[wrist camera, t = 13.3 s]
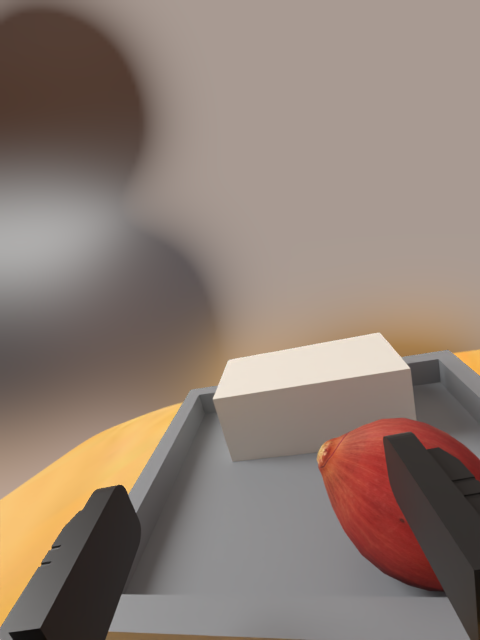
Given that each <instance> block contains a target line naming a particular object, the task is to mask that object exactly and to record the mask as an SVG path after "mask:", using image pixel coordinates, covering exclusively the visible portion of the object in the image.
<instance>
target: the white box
mask: <svg viewBox="0 0 480 640" xmlns="http://www.w3.org/2000/svg"><path fill="white" fill-rule="evenodd" d="M213 402H214V405H215V409H216V412H217V415H218V418H219V421H220V424H221V428H222V431H223V434H224V437H225V440H226V443H227V446H228V450H229V453H230V456H231V459H232V462H234V461H243V460H252V459H261V458H270V457H279V456H288V455H297V454H306V453H315V452H318V451H319V449H320V448H321V446H322V445H323V444H324V443H325V442H326V441H327V440H330V439H333V438H337V437H340V436H342V435H344V434H346V433H348V432H350V431H352V430H354V429H356V428H358V427H361V426H363V425H366V424H368V423H371V422H374V421H377V420H380V419H389V418H407V419H411V420H415V421H417V420H416V412H415V403H414V394H413V386H412V377H411V369H410V367H409V366H408V365H407V364H406V363H405V361H404V360H403V359H402V358H401V357H400V356H399V355H398V353H397V352H396V351H395V350H394V349H393V348H392V346H391V345H390V344H389V343H388V342H387V341H386V339H385V338H384V337H383V336H382V335H381V334H380V333H375V334H368V335H363V336H357V337H352V338H346V339H341V340H336V341H330V342H325V343H319V344H314V345H309V346H303V347H297V348H293V349H286V350H281V351H275V352H270V353H264V354H259V355H253V356H248V357H242V358H237V359H231V360H228V362H227V365H226V367H225V370H224V372H223V375H222V377H221V380H220V382H219V385H218V387H217V390H216V392H215V395H214V397H213Z"/></svg>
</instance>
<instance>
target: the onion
mask: <svg viewBox="0 0 480 640" xmlns="http://www.w3.org/2000/svg"><path fill="white" fill-rule="evenodd" d="M404 432H412V433H414V434H415V436H416V437H417V438H418V439H419V441H420V442H421V443H422V444H423V446H424V447H425V448H426V449H431V448H437V447H439V448H441V449H443V450H444V451H446V452H448V453H449V454H451V455H453V456H454V457H456V458H458V459H459V460H460V461H461V462H462V463H463V464H464V465H465V466H466V467H467V469H468V470H469V471H470V472H471V473H472V474H473V475H474V476H475V479H476V480H478V481H479V482H480V459H479V458H478V457H477V456H476V455H475V454H474V453H473V452H471V451H470V450H469V449H468V448H467V447H466V446H465V445H464V444H462V443H461V442H459V441H458V440H456V439H455V438H453V437H452V436H450V435H449V434H448V433H446V432H444V431H442V430H439V429H437V428H435V427H433V426H431V425H429V424H427V423H423V422H419V421H415V420H411V419H407V418H389V419H380V420H377V421H374V422H371V423H368V424H366V425H363V426H361V427H358V428H356V429H354V430H352V431H350V432H348V433H346V434H344V435H342V436H340V437H337V438H333V439H330V440H327V441H326V442H325V443H324V444H323V445H322V446H321V448H320V449H319V451H318V454H317V462H318V468H319V470H320V473H321V475H322V478H323V481H324V485H325V488H326V491H327V494H328V497H329V500H330V503H331V505H332V508H333V510H334V512H335V514H336V516H337V518H338V520H339V522H340V524H341V526H342V528H343V530H344V532H345V533H346V534H347V536H348V537H349V539H350V540H351V541H352V543H353V544H354V545H355V547H356V548H357V549H358V551H359V552H360V554H361V555H362V556H363V557H365V558H366V559H367V560H368V561H369V562H371V563H372V564H373V565H374V566H375V567H377V568H378V569H379V570H380V571H381V572H383V573H384V574H386V575H388V576H390V577H392V578H394V579H396V580H398V581H400V582H402V583H404V584H407V585H409V586H413V587H416V588H420V589H424V590H427V591H439V592H445V591H444V589H443V588H442V586H441V584H440V582H439V580H438V578H437V576H436V575H435V573H434V571H433V569H432V567H431V565H430V563H429V561H428V560H427V558H426V556H425V554H424V552H423V550H422V548H421V547H420V545H419V543H418V541H417V539H416V537H415V535H414V533H413V532H412V530H411V528H410V526H409V524H408V522H407V520H406V519H405V517H404V515H403V513H402V511H401V509H400V507H399V505H398V504H397V501H396V499H395V497H394V494H393V492H392V489H391V486H390V482H389V477H388V471H387V464H386V458H385V451H384V445H383V437H384V436H388V435H393V434H399V433H404Z"/></svg>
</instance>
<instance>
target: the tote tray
mask: <svg viewBox="0 0 480 640" xmlns="http://www.w3.org/2000/svg"><path fill="white" fill-rule="evenodd" d="M401 358H402V359H403V360H404V361H405V363H406V364H407V365H408V366H409V367H410V369H411V377H412V386H413V394H414V403H415V412H416V420H417V421H419V422H423V423H427V424H429V425H431V426H433V427H435V428H437V429H439V430H442V431H444V432H446V433H448V434H449V435H450V436H452V437H453V438H455V439H456V440H458V441H459V442H461V443H462V444H464V445H465V446H466V447H467V448H468V449H469V450H470V451H471V452H473V453H474V454H475V455H476V456H477V457H478V458H479V459H480V376H479V375H478V374H477V373H476V372H474V371H473V370H472V369H471V368H470V367H468V366H467V365H466V364H465V363H464V362H462V361H461V360H460V359H459V358H457V357H456V356H455V355H454V354H453V353H451V352H450V351H449V350H445V351H439V352H432V353H425V354H419V355H412V356H406V357H401ZM217 387H218V386H212V387H206V388H200V389H193V390H190V392H189V394H188V395H187V397H186V399H185V400H184V402H183V404H182V405H181V407H180V409H179V410H178V412H177V414H176V415H175V417H174V419H173V420H172V422H171V424H170V426H169V427H168V429H167V431H166V432H165V434H164V436H163V437H162V439H161V441H160V442H159V444H158V446H157V447H156V449H155V451H154V453H153V454H152V456H151V458H150V459H149V461H148V463H147V464H146V466H145V468H144V469H143V471H142V473H141V474H140V476H139V478H138V479H137V481H136V483H135V485H134V486H133V488H132V490H131V491H130V493H129V495H128V496H129V498H130V500H131V503H132V505H133V507H134V509H135V512H136V514H137V516H138V518H139V521H140V525H141V539H140V544H139V547H138V550H137V553H136V556H135V558H134V561H133V564H132V567H131V570H130V572H129V575H128V578H127V581H126V583H125V586H124V589H123V592H122V595H121V597H120V600H119V603H118V606H117V609H116V611H115V614H114V617H113V620H112V623H111V625H110V628H109V631H108V634H107V637H106V639H105V640H470V638H469V636H468V634H467V632H466V631H465V629H464V627H463V625H462V623H461V621H460V619H459V617H458V616H457V614H456V612H455V610H454V608H453V606H452V604H451V603H450V601H449V599H448V597H447V595H446V593H445V592H439V591H427V590H424V589H420V588H416V587H413V586H409V585H407V584H404V583H402V582H400V581H398V580H396V579H394V578H392V577H390V576H388V575H386V574H384V573H383V572H381V571H380V570H379V569H378V568H377V567H375V566H374V565H373V564H372V563H371V562H369V561H368V560H367V559H366V558H365V557H363V556H362V555H361V554H360V552H359V551H358V549H357V548H356V547H355V545H354V544H353V543H352V541H351V540H350V539H349V537H348V536H347V534H346V533H345V532H344V530H343V528H342V526H341V524H340V522H339V520H338V518H337V516H336V514H335V512H334V510H333V508H332V505H331V503H330V500H329V497H328V494H327V491H326V488H325V485H324V481H323V478H322V475H321V473H320V470H319V468H318V462H317V454H318V452H315V453H306V454H297V455H288V456H279V457H270V458H261V459H252V460H243V461H234V462H232V459H231V456H230V453H229V450H228V446H227V443H226V440H225V437H224V434H223V431H222V428H221V424H220V421H219V418H218V415H217V412H216V409H215V405H214V402H213V397H214V395H215V392H216V390H217Z"/></svg>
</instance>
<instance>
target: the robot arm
mask: <svg viewBox="0 0 480 640" xmlns="http://www.w3.org/2000/svg"><path fill="white" fill-rule="evenodd" d="M383 445H384V451H385V458H386V464H387V471H388V477H389V482H390V486H391V489H392V492H393V494H394V497H395V499H396V501H397V504H398V505H399V507H400V509H401V511H402V513H403V515H404V517H405V519H406V520H407V522H408V524H409V526H410V528H411V530H412V532H413V533H414V535H415V537H416V539H417V541H418V543H419V545H420V547H421V548H422V550H423V552H424V554H425V556H426V558H427V560H428V561H429V563H430V565H431V567H432V569H433V571H434V573H435V575H436V576H437V578H438V580H439V582H440V584H441V586H442V588H443V589H444V591H445V593H446V595H447V597H448V599H449V601H450V603H451V604H452V606H453V608H454V610H455V612H456V614H457V616H458V617H459V619H460V621H461V623H462V625H463V627H464V629H465V631H466V632H467V634H468V636H469V638H470V640H480V482H479V481H478V480H476V479H475V476H474V475H473V474H472V473H471V472H470V471H469V470H468V469H467V467H466V466H465V465H464V464H463V463H462V462H461V461H460V460H459V459H458V458H456V457H454V456H453V455H451V454H449V453H448V452H446V451H444V450H443V449H441V448H439V447H437V448H431V449H426V448H425V447H424V446H423V444H422V443H421V442H420V441H419V439H418V438H417V437H416V436H415V434H414V433H412V432H404V433H399V434H393V435H388V436H384V437H383ZM140 539H141V525H140V521H139V518H138V516H137V514H136V512H135V509H134V507H133V505H132V503H131V500H130V498H129V496H128V494H127V491H126V489H125V488H124V486H122V485H117V486H111V487H106V488H101V489H97V490H95V491H94V492H93V494H92V495H91V497H90V498H89V500H88V502H87V503H86V505H85V507H84V508H83V510H82V511H79V512H78V513H77V514H76V515H75V516H74V517H73V518H72V519H71V520H70V522H69V523H68V524H67V525H66V526H65V527H64V528H63V529H62V531H61V533H60V534H59V536H58V537H57V539H56V540H55V542H54V544H53V545H52V549H51V550H49V551H48V553H47V555H46V556H45V558H44V559H43V561H42V563H41V567H38V569H37V570H36V572H35V574H34V575H33V577H32V578H31V580H30V581H29V583H28V585H27V586H26V588H25V589H24V591H23V592H22V594H21V596H20V597H19V599H18V600H17V602H16V604H15V605H14V607H13V608H12V610H11V611H10V613H9V615H8V616H7V618H6V619H5V621H4V622H3V624H2V626H1V627H0V640H105V639H106V637H107V634H108V631H109V628H110V625H111V623H112V620H113V617H114V614H115V611H116V609H117V606H118V603H119V600H120V597H121V595H122V592H123V589H124V586H125V583H126V581H127V578H128V575H129V572H130V570H131V567H132V564H133V561H134V558H135V556H136V553H137V550H138V547H139V544H140Z"/></svg>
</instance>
